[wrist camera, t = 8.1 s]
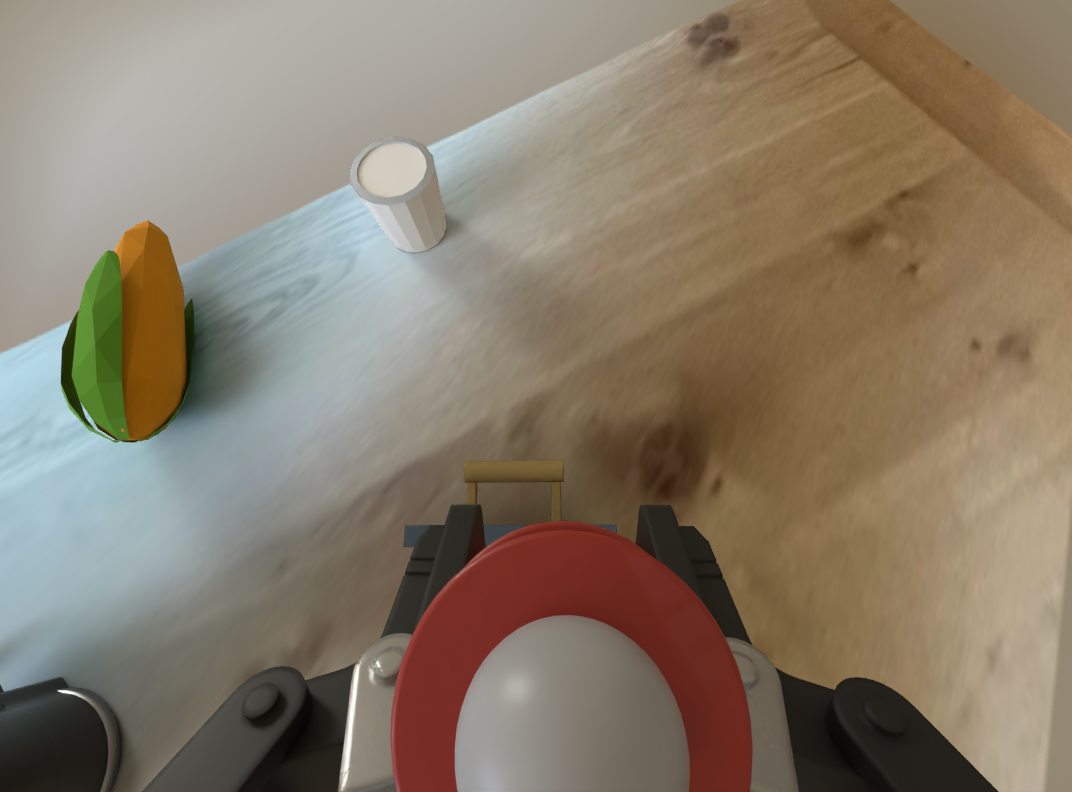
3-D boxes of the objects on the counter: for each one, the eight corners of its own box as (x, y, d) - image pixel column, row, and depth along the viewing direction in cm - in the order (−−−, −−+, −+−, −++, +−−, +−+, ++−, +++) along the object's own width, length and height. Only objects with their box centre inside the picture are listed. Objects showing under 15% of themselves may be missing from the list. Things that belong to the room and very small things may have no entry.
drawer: (437, 471, 34) (410, 454, 28) (601, 469, 34) (612, 452, 28) (418, 767, 29) (378, 832, 22) (615, 771, 28) (633, 838, 22)
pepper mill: (490, 586, 19) (166, 791, 3) (557, 516, 20) (567, 400, 4) (559, 664, 18) (588, 1535, 2) (627, 587, 19) (1013, 814, 3)
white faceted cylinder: (455, 196, 44) (437, 133, 37) (451, 257, 41) (431, 202, 35) (384, 198, 44) (354, 137, 37) (377, 259, 42) (343, 205, 35)
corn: (12, 439, 29) (51, 195, 36) (112, 461, 37) (131, 254, 43) (133, 417, 30) (151, 181, 36) (208, 443, 37) (213, 242, 43)
